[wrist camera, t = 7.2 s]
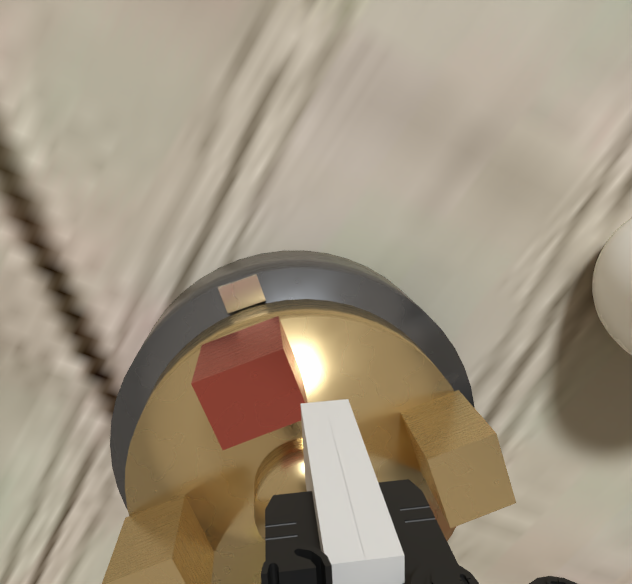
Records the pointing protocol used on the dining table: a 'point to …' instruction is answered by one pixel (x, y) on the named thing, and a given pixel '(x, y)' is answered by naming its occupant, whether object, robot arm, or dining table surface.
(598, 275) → the lidded jar
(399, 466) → the ring nut
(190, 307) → the base
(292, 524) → the robot arm
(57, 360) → the dining table surface
